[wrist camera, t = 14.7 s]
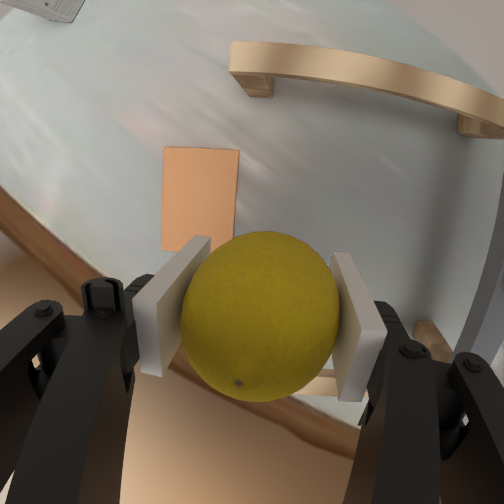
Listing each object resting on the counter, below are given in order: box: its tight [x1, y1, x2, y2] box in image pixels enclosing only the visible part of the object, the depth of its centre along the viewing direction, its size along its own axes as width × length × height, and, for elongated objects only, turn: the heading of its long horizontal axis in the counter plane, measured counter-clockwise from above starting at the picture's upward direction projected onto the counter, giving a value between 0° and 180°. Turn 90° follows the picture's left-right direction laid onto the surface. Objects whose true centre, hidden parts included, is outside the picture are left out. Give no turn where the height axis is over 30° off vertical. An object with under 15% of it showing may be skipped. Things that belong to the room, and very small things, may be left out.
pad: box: [162, 147, 239, 254], centre depth 29 cm, size 7×10×1 cm
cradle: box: [229, 41, 504, 397], centre depth 23 cm, size 22×24×10 cm
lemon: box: [180, 231, 340, 402], centre depth 11 cm, size 6×6×8 cm
